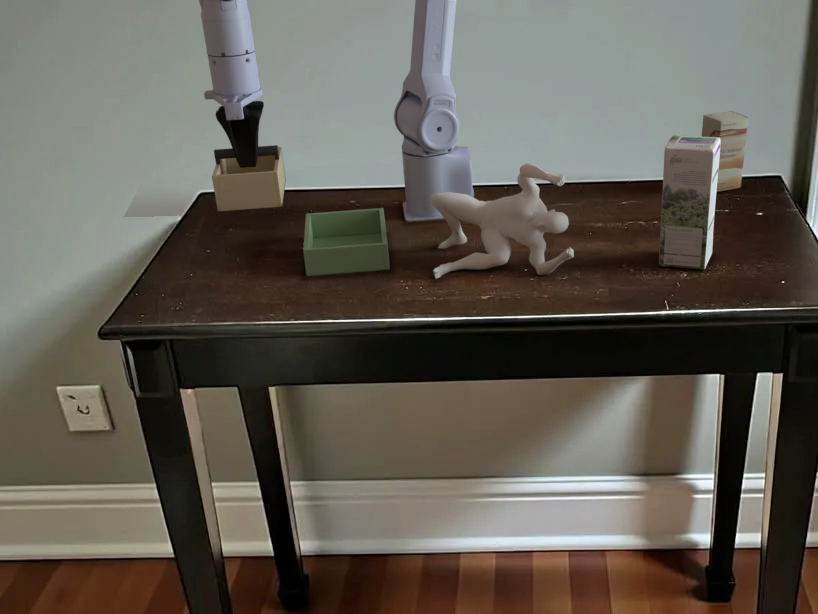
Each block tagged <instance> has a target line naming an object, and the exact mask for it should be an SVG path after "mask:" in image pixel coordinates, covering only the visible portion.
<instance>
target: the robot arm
mask: <svg viewBox="0 0 818 614" xmlns="http://www.w3.org/2000/svg"><path fill="white" fill-rule="evenodd" d="M457 1H458V0H414V13H413V14H414V15H413V28H412V39H411V53H410V67H409V68H410V69H409V72H408V74H407V75H406V77H405V79H404V80H403V82H402V90H401V94H400V98H399V99H398V101H397V103H396V105H395V107H394V111H393V121H394V126H395V127H396V129H397V130H398V132H399V133H400V134H401V135H402V136H403V140H402V144H401V155H402V168H403V180H404V181H403V182H404V194H405V195H404V196H405V202H403V203H402V209H403V215H404V220H405V222H408V223H410V222H420V221H421V222H422V221H434V220H445V219H444V217H443V216H442V215H441V213H440V212H439V211H438V210H437V209H436V208H435V207H434V206H432V204H431V203H430V198H431V196H432V195H433V193H445V192H453V193H460V194H466V195H469V196H471V197H473V198H475V192H474V187H473V173H472V172H473V171H472V159H471V152H470V149H469V147H468V146H464V145H463V146H460V145H459V146H458V145H455V144H456V142H457V141H458V138H459V137H460V133H461V122H460V118H459V115H458V112H457V94H456V91H455V88H454V85H453V82H452V80H451V69H452V68H451V66H452V57H453V44H454V34H455V25H456V14H457V13H456V12H457ZM198 3H199V5H200V10H201V11H200V19H201V25H202V31H203V37H204V43H205V48H206V54H207V59H208V66H209V71H210V78H211V85H212V89H211V90H210V89H209V90H205V91H204V93H203V96H204V100H214V101H215V102H217V104H219V105H220V106H219V107H218V109H217V110H216V112H215V118H216V120H217V122H218V124H219V125H220V126H221V128H222V129H223V131H224V132H225V134H226V136H227V139H228V141H229V143H230V146H231V148H232V149H233V151H234V154H235V157H236V160H237V162H238V165H239V167H240V168H247V167H256V164H257V159H258V156H257V147H259V131H260V130H259V129H260V123H261V121H260V120H261V117H262V114H263V110H264V107H265V103H264V101H262V100H258V99H260V98H261V97H262V96H263V95H264V93H263V88H262V87H261V82H260V77H259V68H258V61H257V56H256V47H255V42H254V36H253V28H252V21H251V14H250V10H249V7H248V1H247V0H198Z"/></svg>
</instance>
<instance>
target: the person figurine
mask: <svg viewBox="0 0 818 614" xmlns="http://www.w3.org/2000/svg"><path fill="white" fill-rule="evenodd" d="M516 179H517V180H516V182H517V185H518V186H519V187H520V188H521V192H519V193H516V194H513V195H509V196H503V197H500V198H497V199H494V200H486V201H484V200H479V199H477V198H475V197H474V198H473V197H471V196H469V195H466V194H460V193H453V192H445V193H433V195H432V196H431V198H430V203H431V204H432V206H434V207H435V208H436V209H437V210H438V211H439V212H440V213H441V215H442V216H443V217H444V219H443V220H445V221H446V222H447V225H448V226H449V228H450V231H451V235H450V236H449V237H448V238H447V239H445V240H444V241H442V242H440V243H439V245H438V246H437V249H449V248H450V247H452V246H454V245H455V246H456V245H464V244H467V242H468V238H467V236H466V235H465V233H464V231H463V228H462V225H461V221H462V222H465V223H468V224H472V225H476V226H478V227H479V229H480V230H481V232H480V237H481V241H482V243H483V246H484V250H485V252H486V253H484V252H475V251H474V252H473V253H471V254H469V255H467V256H465V257H462V258H460V259H458V260H456V261H453V262H451V261H450V262H447V263H442V264H439V266H437V267H434V269H433V270H432V273H433V277H434V278H435V280H437V279H439V278H441V277H442V276H443V275H446V274H448V273H451V272H454V271H460V270H475V271H481V270H488V269H492V268H496V267H499V266H503V265H505V264H507V263H508V261H509V259H510V257H511V255H512V251H513V249H512V243H511V239H512V240H515V241H516V242H517V243H518V244H520V245H522V246H525V247H527V248H528V249H529V255H528V262H529V264H530V265H531V266H532V267H533V268H534V269H535V272H536V274H537V275H538V276H546V275H550V274H552V273H553V272H554V271H555V270H556V269H557V268H558V267H559V266H560V265H562V264H564V262H565V261H568V260H570V259H573V258H575V250H574V249H573V248H572V247H571V246H568V248H566V249H565V250H564V251H563V252H561V253H560V254H559V255H558V256H557V257H553V258H552V259H550V260H547V261H546V259H545V252H546V250H547V243H546V240H545V238H544V234H545V233H548V234H554V235H557V234H562V233H564V232H565V231H567V229H568V228H569V225H570V221H569V217H568V215H567V214H566V213H564V212H562V211H556V209H555V208H554V209H550V210H548V207H547V205H545V203H544V202H543V200H542V199H541V198H540V191H541V189H540V187H539V185H537V184H536V183H535V181H534V179H537V180H542V181H547V182H549V183H551V184H552V185H555V186H557V187H563V185H564V184H565V182H566V178H565V176H564V175H563V174H556V173H552V172H549V171H545V170H543V169H542V168H541V167H538V166H537V165H535V164H532V163H531V162H530V163H529V162H528V163H525V164H523V165H521V166H520V167H519V174H518V176H517V178H516Z"/></svg>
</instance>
